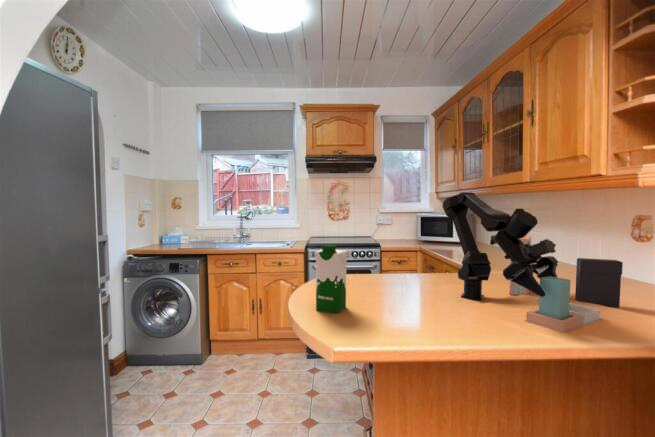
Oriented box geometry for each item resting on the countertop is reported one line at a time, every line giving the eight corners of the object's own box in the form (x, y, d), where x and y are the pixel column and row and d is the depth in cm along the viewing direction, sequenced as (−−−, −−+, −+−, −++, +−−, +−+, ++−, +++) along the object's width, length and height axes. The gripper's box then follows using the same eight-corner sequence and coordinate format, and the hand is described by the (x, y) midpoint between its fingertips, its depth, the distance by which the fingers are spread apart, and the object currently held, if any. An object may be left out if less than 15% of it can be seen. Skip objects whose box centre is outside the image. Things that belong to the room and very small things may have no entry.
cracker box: (512, 286, 129) (514, 234, 128) (530, 289, 125) (532, 235, 124) (508, 294, 118) (510, 237, 117) (527, 297, 114) (529, 238, 113)
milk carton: (312, 310, 98) (312, 245, 97) (324, 302, 106) (325, 242, 105) (338, 315, 94) (339, 247, 94) (349, 306, 103) (350, 243, 102)
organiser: (523, 324, 88) (524, 311, 88) (562, 312, 99) (563, 300, 99) (563, 337, 80) (564, 323, 80) (601, 322, 90) (602, 309, 90)
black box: (613, 304, 107) (615, 259, 106) (620, 308, 103) (623, 261, 102) (573, 301, 110) (575, 257, 109) (579, 304, 106) (581, 259, 105)
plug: (538, 321, 87) (539, 278, 87) (548, 318, 90) (549, 276, 89) (558, 328, 83) (560, 281, 83) (568, 324, 86) (570, 279, 85)
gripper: (515, 231, 86) (560, 281, 77) (552, 228, 95) (595, 273, 86) (486, 256, 93) (524, 304, 84) (523, 251, 102) (561, 294, 93)
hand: (553, 293), depth 87 cm, fingers open, 9 cm apart
